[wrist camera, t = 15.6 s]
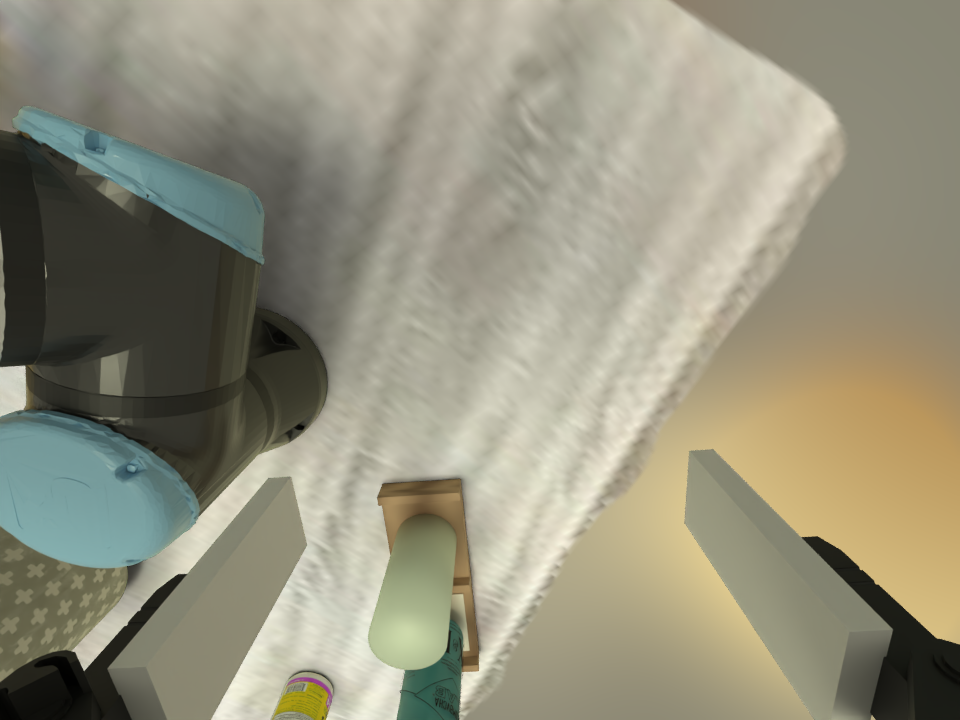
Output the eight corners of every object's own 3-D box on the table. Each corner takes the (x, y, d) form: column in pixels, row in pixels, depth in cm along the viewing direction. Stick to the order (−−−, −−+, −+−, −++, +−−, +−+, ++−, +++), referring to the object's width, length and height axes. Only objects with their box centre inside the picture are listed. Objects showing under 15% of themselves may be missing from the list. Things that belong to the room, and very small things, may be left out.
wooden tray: (411, 654, 59) (407, 674, 56) (382, 483, 51) (377, 497, 49) (479, 651, 58) (478, 671, 56) (460, 478, 51) (459, 492, 48)
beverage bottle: (450, 651, 56) (431, 872, 37) (403, 631, 55) (359, 846, 36) (475, 617, 55) (469, 830, 36) (427, 595, 54) (395, 801, 35)
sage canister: (400, 565, 53) (374, 671, 40) (392, 515, 51) (362, 611, 38) (459, 562, 52) (451, 667, 40) (453, 511, 50) (443, 606, 38)
